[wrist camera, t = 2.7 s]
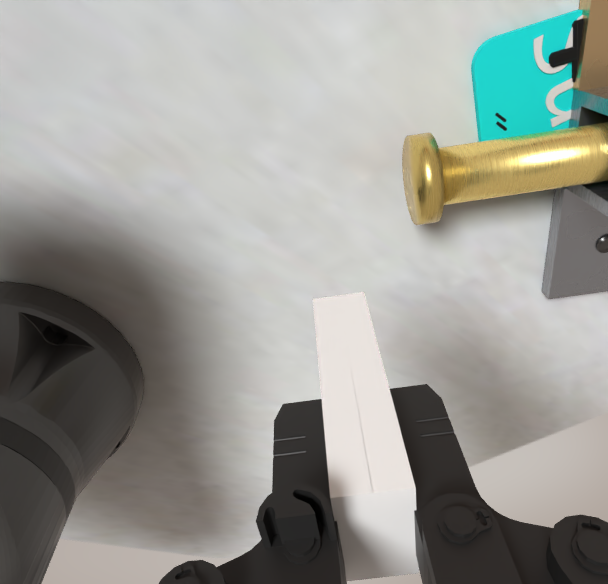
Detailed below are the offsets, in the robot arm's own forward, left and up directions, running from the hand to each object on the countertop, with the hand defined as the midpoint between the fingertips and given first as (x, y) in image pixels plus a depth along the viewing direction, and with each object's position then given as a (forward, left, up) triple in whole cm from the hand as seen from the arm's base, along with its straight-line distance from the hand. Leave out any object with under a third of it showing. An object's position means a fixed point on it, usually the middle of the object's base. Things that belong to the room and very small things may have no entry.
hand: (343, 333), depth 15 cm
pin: (+15, 0, -14) cm, 20 cm away
